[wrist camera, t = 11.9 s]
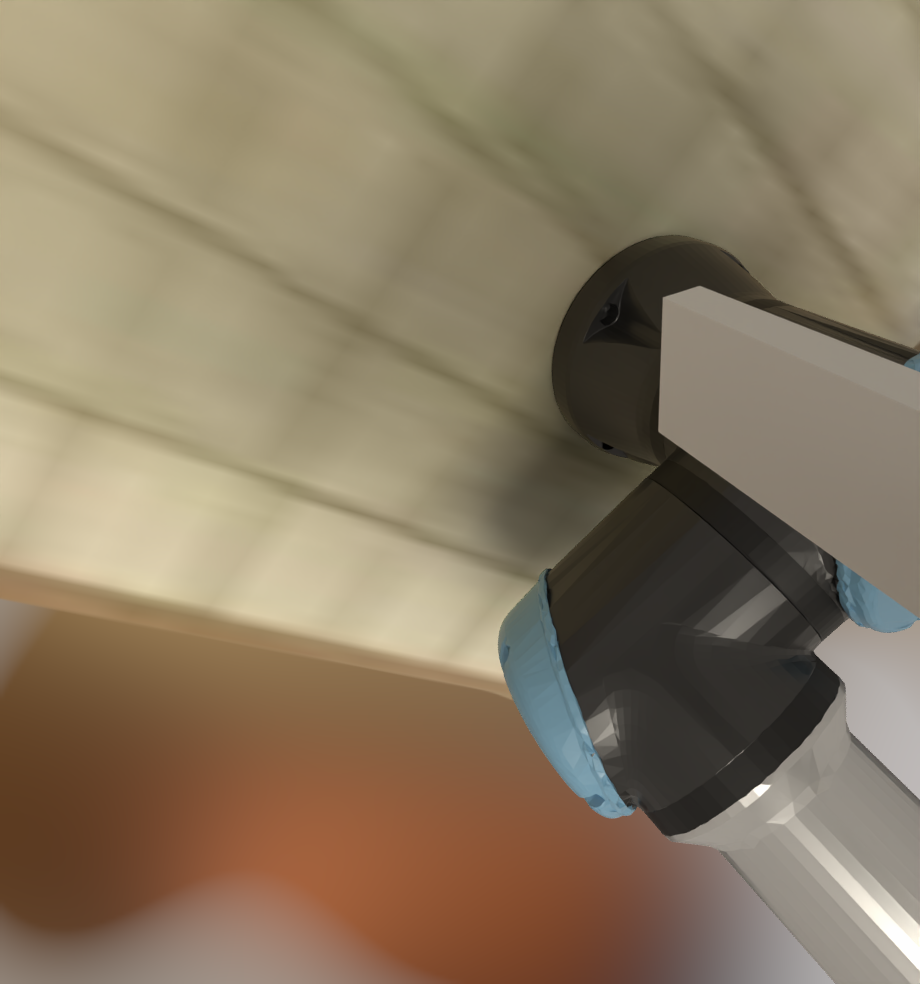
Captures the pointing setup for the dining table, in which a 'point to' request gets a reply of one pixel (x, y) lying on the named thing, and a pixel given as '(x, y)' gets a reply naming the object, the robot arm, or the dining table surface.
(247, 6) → the dining table surface
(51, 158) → the dining table surface
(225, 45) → the dining table surface
